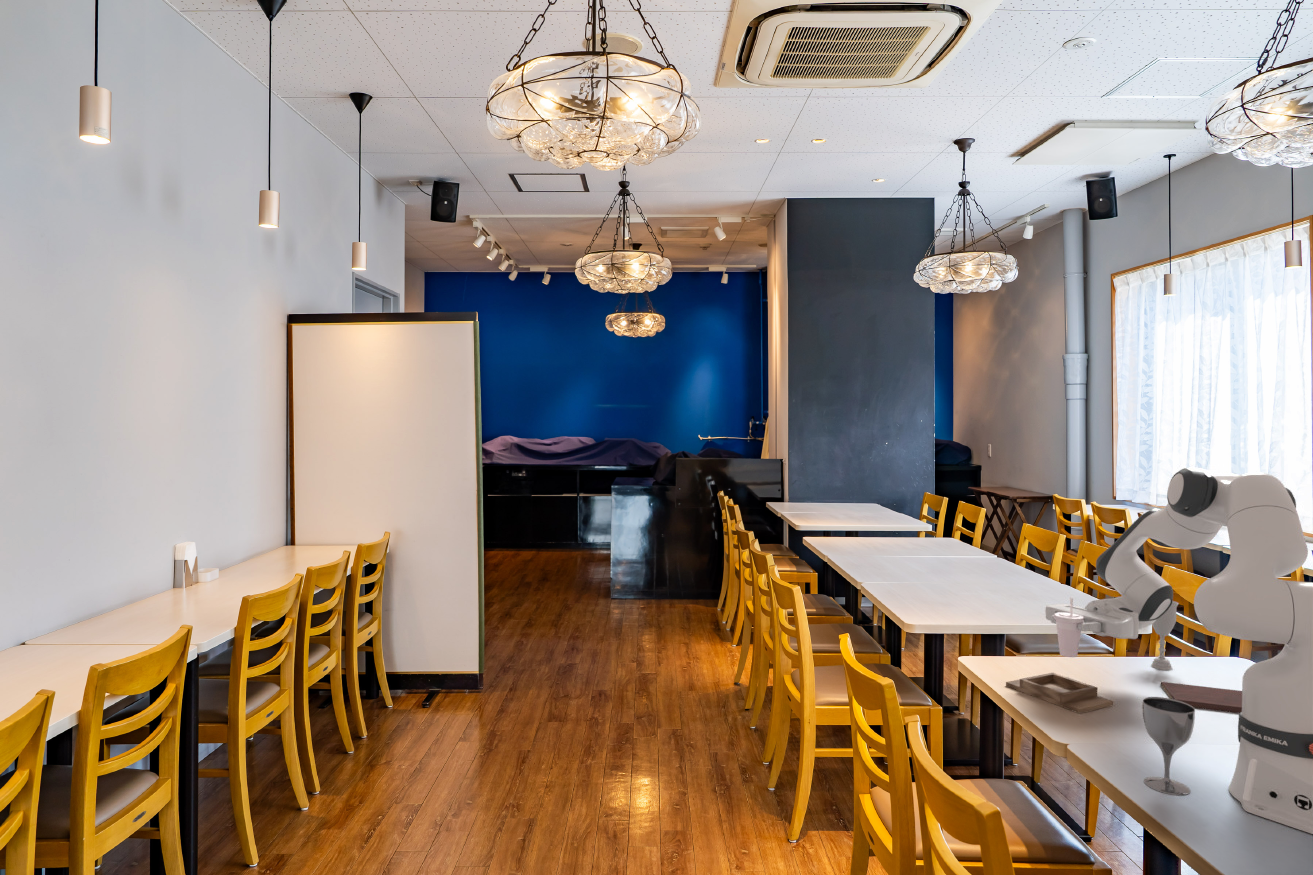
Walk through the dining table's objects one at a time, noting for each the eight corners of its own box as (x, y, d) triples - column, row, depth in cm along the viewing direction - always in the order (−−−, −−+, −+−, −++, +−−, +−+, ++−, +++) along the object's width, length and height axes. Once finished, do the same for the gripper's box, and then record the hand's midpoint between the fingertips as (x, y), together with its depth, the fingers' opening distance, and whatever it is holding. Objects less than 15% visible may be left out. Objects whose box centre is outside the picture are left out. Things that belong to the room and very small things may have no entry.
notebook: (1160, 687, 193) (1160, 679, 193) (1255, 698, 186) (1255, 690, 186) (1175, 707, 180) (1175, 699, 180) (1278, 720, 172) (1278, 711, 172)
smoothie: (1087, 659, 181) (1088, 601, 181) (1058, 658, 183) (1059, 600, 182) (1078, 651, 188) (1078, 595, 187) (1050, 650, 189) (1050, 594, 189)
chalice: (1183, 669, 206) (1184, 603, 206) (1166, 672, 204) (1167, 605, 203) (1157, 661, 213) (1158, 597, 212) (1140, 664, 210) (1141, 599, 210)
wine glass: (1130, 779, 142) (1132, 699, 141) (1160, 772, 144) (1162, 694, 144) (1173, 799, 134) (1174, 715, 134) (1203, 792, 137) (1205, 709, 137)
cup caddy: (1113, 705, 179) (1113, 692, 179) (1079, 713, 174) (1079, 700, 174) (1038, 679, 197) (1038, 667, 197) (1005, 685, 192) (1006, 674, 192)
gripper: (1066, 596, 200) (1029, 601, 194) (1144, 614, 181) (1106, 620, 175) (1066, 620, 200) (1029, 626, 194) (1144, 640, 181) (1106, 647, 175)
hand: (1066, 623), depth 185 cm, fingers closed on smoothie, 6 cm apart
